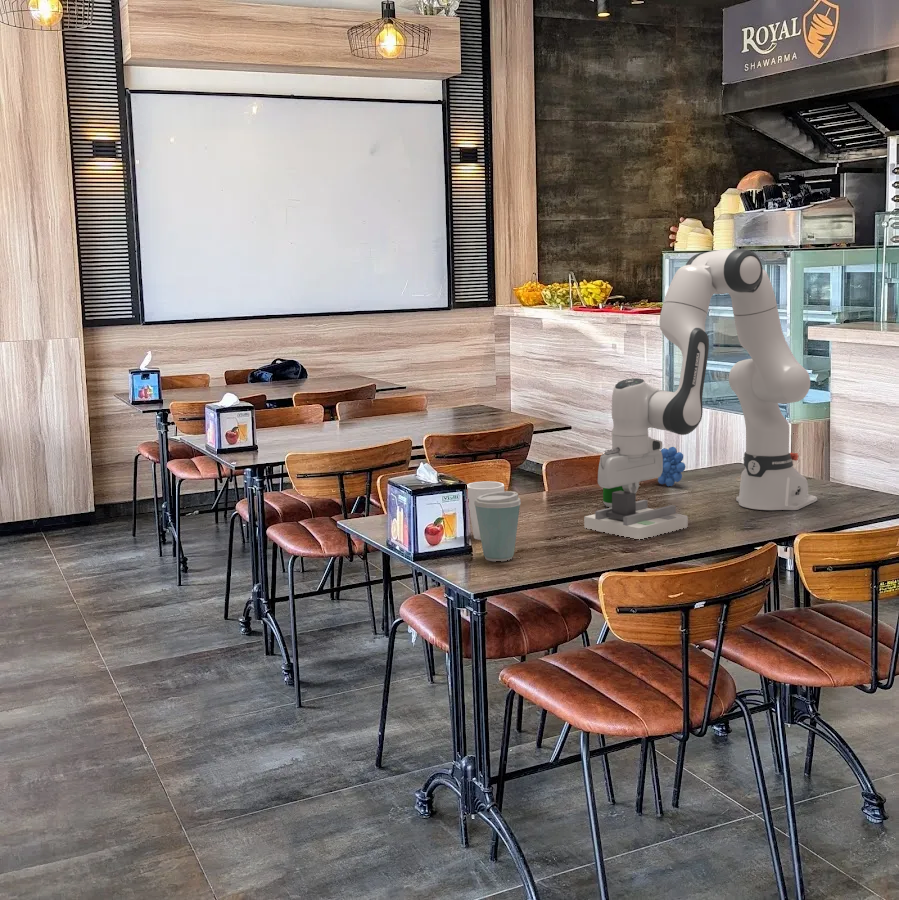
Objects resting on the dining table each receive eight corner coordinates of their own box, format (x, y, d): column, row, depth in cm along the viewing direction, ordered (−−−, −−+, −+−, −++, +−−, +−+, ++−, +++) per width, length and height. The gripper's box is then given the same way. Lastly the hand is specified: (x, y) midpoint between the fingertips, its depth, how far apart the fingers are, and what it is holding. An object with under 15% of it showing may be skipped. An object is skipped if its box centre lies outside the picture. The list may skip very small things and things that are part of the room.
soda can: (630, 509, 297) (630, 465, 295) (602, 509, 299) (601, 465, 297) (631, 503, 304) (631, 460, 302) (604, 503, 306) (603, 460, 304)
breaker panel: (632, 516, 289) (632, 497, 288) (687, 527, 275) (687, 507, 275) (584, 528, 278) (584, 508, 277) (639, 540, 264) (639, 520, 263)
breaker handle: (620, 513, 278) (620, 489, 277) (641, 518, 272) (641, 493, 271) (606, 516, 275) (606, 492, 274) (627, 521, 269) (627, 496, 268)
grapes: (694, 487, 323) (694, 446, 321) (679, 490, 319) (679, 449, 317) (663, 481, 333) (664, 442, 331) (648, 485, 328) (648, 445, 326)
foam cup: (467, 532, 277) (466, 481, 275) (504, 531, 277) (503, 480, 275) (467, 542, 268) (465, 489, 266) (505, 541, 268) (504, 488, 265)
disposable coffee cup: (476, 565, 247) (474, 499, 245) (474, 552, 258) (473, 489, 255) (523, 563, 247) (522, 497, 245) (520, 551, 258) (519, 488, 255)
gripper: (610, 452, 263) (611, 509, 266) (667, 441, 276) (667, 495, 278) (591, 449, 268) (592, 505, 271) (647, 438, 281) (647, 492, 283)
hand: (630, 500), depth 275 cm, fingers closed
